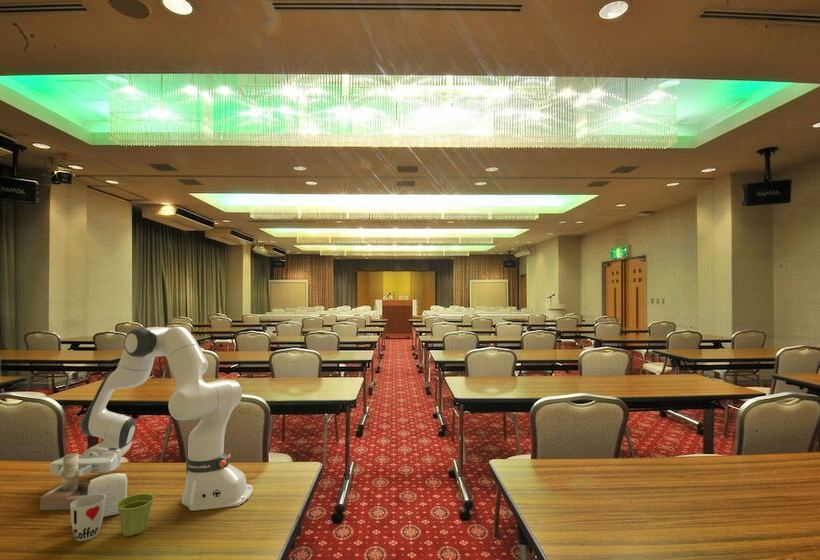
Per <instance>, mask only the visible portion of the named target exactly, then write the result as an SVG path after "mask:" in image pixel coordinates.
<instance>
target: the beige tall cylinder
mask: <svg viewBox="0 0 820 560" xmlns="http://www.w3.org/2000/svg"><path fill="white" fill-rule="evenodd" d="M79 456H80V455H79V453H77V452H74V453H73V452H72V453H69V454H65V455H64V456H63V457H62V458H63V476H62V484H63V487H62V492H68V491H74V494H73V495H72V496H81V490H78V480H79V476H75V474H76V473H75V472H76V470H78V459H79Z"/></svg>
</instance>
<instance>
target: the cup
mask: <svg viewBox="0 0 820 560" xmlns="http://www.w3.org/2000/svg"><path fill="white" fill-rule="evenodd" d="M105 499H106V496H105V495H103V494H93V495H88V496H84V497H81V498H78V499H76V500H74V501H73V502H72V503H71V504H70V509H69V510H70V522H71V523H70V524H71V527H72V533H73V536H74V537H75V540H76V541H77V542H84V541H88V540H91V539H94V538H95V537H97V536H98V534H99V531H100V528H101V527H102V524H103V520H104V519H103V518H104V517H103V514H104V508H105Z"/></svg>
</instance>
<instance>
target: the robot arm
mask: <svg viewBox="0 0 820 560" xmlns="http://www.w3.org/2000/svg"><path fill="white" fill-rule="evenodd" d="M123 342H124V343H123V346H124V349H123V351H122V354H121V357H120V360H119V363H118V366H117V368H116V369H115V370H114V371H113V370H112V371H110V372H109V373H107V374H106V375H105V377H104V379H103V380H102V382H100V383H101V384H100V385H99V387H98V389H97V391H96V392H95V395H94V397H93V399H92V402H91V403H90V405H89V407H88V409H87V411H86V412H85V413H84V415H83V417H82V418H81V419H80V422H79V429H80V431H81V433H82V434H83V435H85V436H90V437H97V438H100V439H102V440H103V441H101V442H99V443H96V444H95V445H93V446H91V447H89V448H87V449H86V450H85V451H83V453H82V455H79V459H78V470H76V472H75V473H76V474H75V476H78V477H81V476H83V475H85V474H91V473H92V474H93V473H95V474H97V473H101V474H103V473H109V472H113V471H115V470H116V469H117V468H120V466H121V463H122V462H121V461H122V456H124V455H125V454H126V453H127V452H128V451H129V449H130V448H131V447H132V442H133V438H134V437H135V435H136V432H137V424H136V419H134V418H133V417H132V416H128V415H124V414H121V413H116V412H113V411H110V410H108V409H107V405H108V403H109V401H110V400H111V397H112V395H113V393H114V391H115V390H119V389H120V390H121V389H123V390H124V389H130V388H135V387H139V386H141V385H142V384H144V383H145V382H146V381H147V380H148V379H149V377H150V376H151V373H152V370H153V365H154V361H155V359H156V358H157V357H165V359H166V360H167V363H168V364H169V366H170V368H171V370H172V373H173V376H174V377H175V382H176V383H175V385H176V386H175V390H174V391H173V393H172V394H171V396H170V398H169V400H168V412H169V414H170V415H171V416H172V418H173V419H175V420H176V421H190V420H192V421H193V420H196V419H199V418H200V421H199V422H198V423H197V424H196V426H195V427H194V428H193V429H192V430H191V431H190V433H189V435H188V443H187V444H188V446H187V447H188V448H187V450H188V451H187V452H188V453H187V455H188V456H187V457H186V464H185V473H186V480H185V485H184V491H183V495H182V498H181V500H180V501H181V504H182V505H183V506H185V507H186V508H188V509H189V511H192V512H193V511H201V510H202V511H203V510H211V509H213V510H214V509H221V508H231V507H238V506H240V504H241V505H242V503H243V504H244V503H246V502H247V501H248V500H249V499H250V498H251V497H252V495H251V494H253V493H252V492H254V488H253V486H252V484H248V483H247V479H246V475H245V473H244V472H243V471H241V470H240V469H238V468H237V467H235V466H234V465H232V463H230V459H231V453H229V454H228V455H227V453H226V452H224V448H225V447H224V446H225V434H226V433H225V432H226V427H227V425H228V421H229V419H230V417H231V414H232V413H233V411H234V409H235V408H236V407H237V406H238V404H240V402H241V400H242V399H243V398H242V397H243V389H242V386H241V385H240V383H239V381H237V380H234V379H218V380H214V381H208V382H206V381H205V380H204V379H203V376H204V375H205V373H206V372H207V370H208V368H209V362H208V359H207V358H206V356H205V354H204V352H203V350H202V348H201V347H200V345H199V343H198V341H197V340H196V339H195V337H194V336H193V334H191V332H190V331H189V330H188V329H187V328H185V327H184V326H174V327H166V326H164V327H163V326H150V327H138V328H134V329H131V330H129V332H128V333H127V334H126V335H125V338H124V341H123ZM49 472H50V473H49V474H57V477H63V457H61V458H58V459H55V460H53V461H51V463H50V464H49ZM249 497H250V498H249ZM247 499H248V500H247ZM246 500H247V501H246ZM245 501H246V502H245Z"/></svg>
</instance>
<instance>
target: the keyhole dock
mask: <svg viewBox="0 0 820 560" xmlns="http://www.w3.org/2000/svg"><path fill="white" fill-rule="evenodd" d="M90 480H91V479H84V480H83V479H82V480H79V479H78V490H81V496H72V495H73V494H74V491H68V492H62V487H63V483H61V484H60V485H58V486H57V487H55V488H53V489H51V490H50V491H48V492H46V493H44V494H43V495H42V496H40V499H39V500H40V503H39V504H40V505H39V511H56V510H57V511H58V510H60V511H62V510H70V504H71V503H72V502H73V501H74V500H76V499H78V498H81V497H84V496H88V486H89V484H90Z"/></svg>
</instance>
